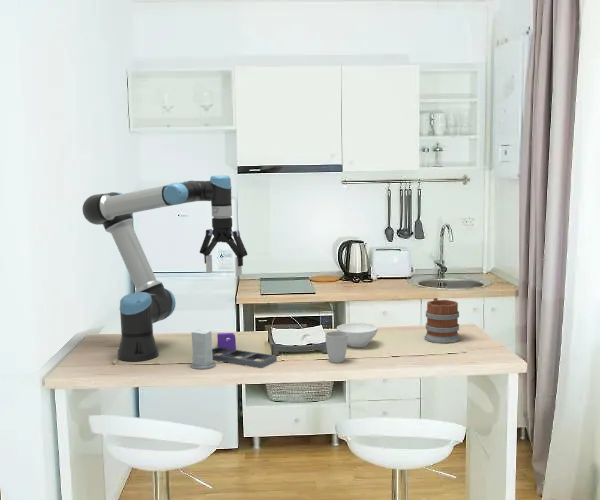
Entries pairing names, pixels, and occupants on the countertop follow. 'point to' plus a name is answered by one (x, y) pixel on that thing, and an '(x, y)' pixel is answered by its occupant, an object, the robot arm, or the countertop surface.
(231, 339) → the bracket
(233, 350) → the dark gray compartment tray
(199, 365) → the coaster
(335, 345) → the cup
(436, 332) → the mug
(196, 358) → the skincare box
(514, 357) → the countertop surface
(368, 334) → the bowl
